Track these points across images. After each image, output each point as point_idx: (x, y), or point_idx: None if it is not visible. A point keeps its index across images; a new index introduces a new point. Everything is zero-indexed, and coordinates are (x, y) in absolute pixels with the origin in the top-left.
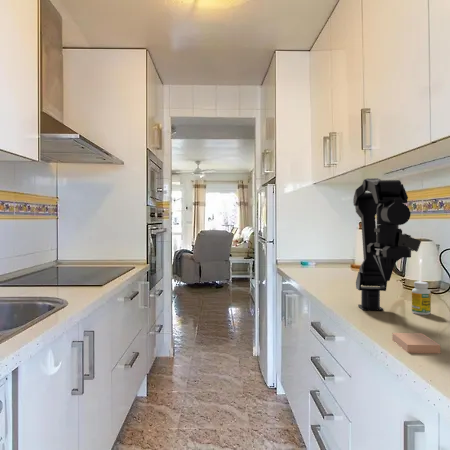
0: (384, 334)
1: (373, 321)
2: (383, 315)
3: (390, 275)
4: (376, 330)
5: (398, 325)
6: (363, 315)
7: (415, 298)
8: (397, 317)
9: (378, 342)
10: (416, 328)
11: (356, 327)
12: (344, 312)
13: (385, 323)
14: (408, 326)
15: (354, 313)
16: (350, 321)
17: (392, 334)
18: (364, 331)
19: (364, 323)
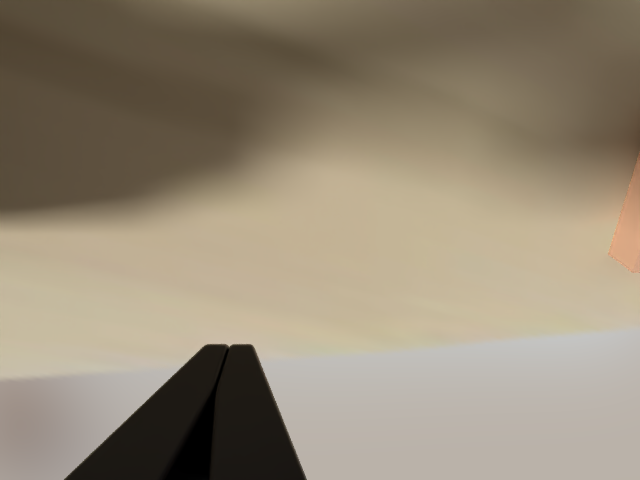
0: (507, 259)
1: (222, 235)
2: (15, 110)
3: (273, 404)
4: (428, 276)
5: (312, 107)
6: (61, 251)
7: None
8: (54, 16)
9: (626, 323)
10: (390, 4)
11: (367, 352)
12: (8, 340)
13: (266, 177)
14: (336, 43)
15: (17, 291)
16: None
17: (627, 268)
18: (443, 335)
19: (279, 296)
